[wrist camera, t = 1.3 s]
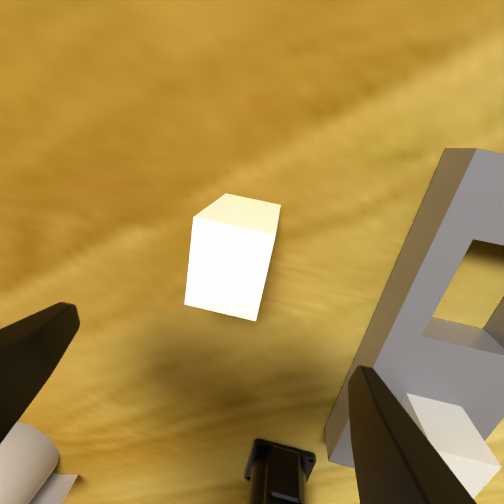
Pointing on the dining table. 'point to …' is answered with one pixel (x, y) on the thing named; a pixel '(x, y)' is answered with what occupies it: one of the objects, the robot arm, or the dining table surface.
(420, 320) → the power strip
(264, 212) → the plug
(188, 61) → the dining table surface
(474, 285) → the dining table surface
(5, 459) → the toilet tissue
